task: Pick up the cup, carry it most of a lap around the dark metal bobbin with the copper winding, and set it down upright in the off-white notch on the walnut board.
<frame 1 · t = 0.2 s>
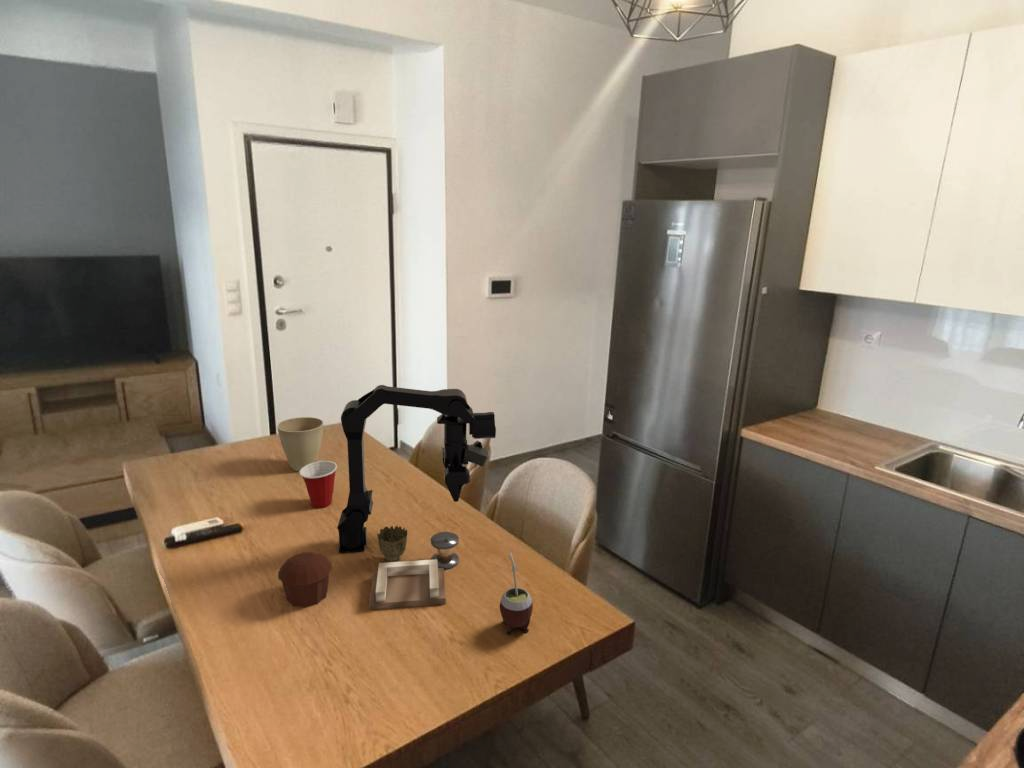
hand: (455, 493, 155), 14 cm above the table, fingers open, 9 cm apart
bobbin: (444, 561, 149), on the table
plastic cup: (321, 504, 177), on the table
mate gourd: (514, 626, 127), on the table
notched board: (408, 590, 138), on the table
muffin: (307, 595, 135), on the table
cup: (393, 561, 149), on the table
plant pot: (304, 467, 202), on the table
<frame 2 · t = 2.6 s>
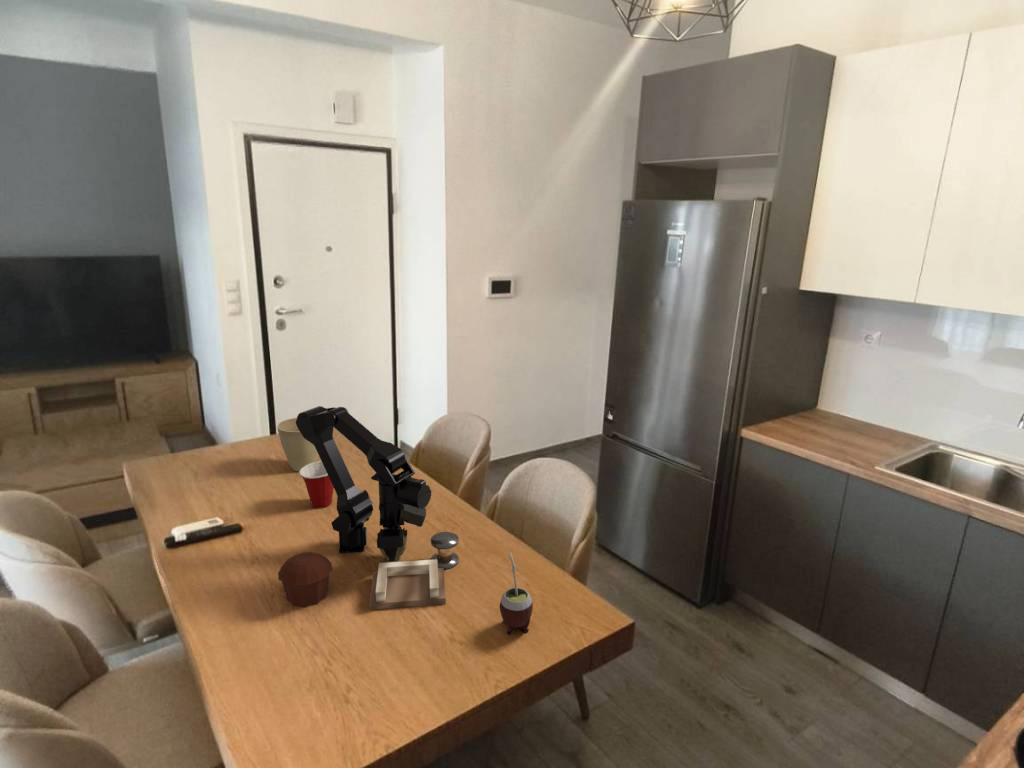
hand: (393, 553, 149), 2 cm above the table, fingers closed on cup, 6 cm apart
cup: (393, 561, 149), on the table, touching gripper
everything else where it was.
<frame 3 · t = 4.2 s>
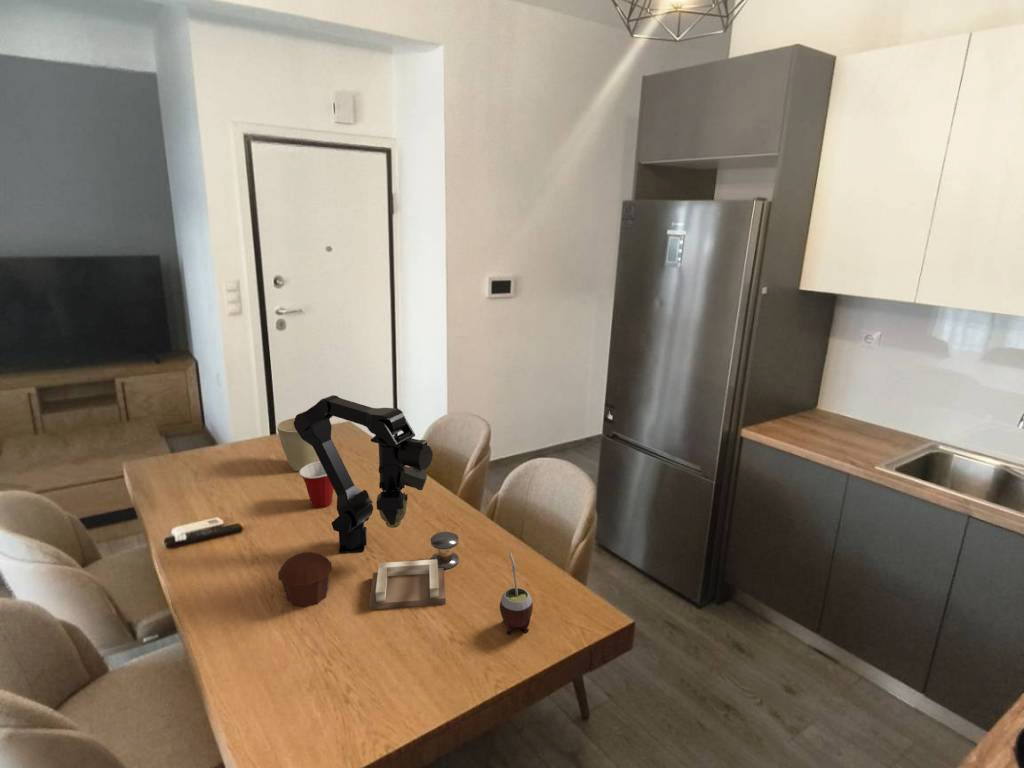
hand: (393, 518, 146), 12 cm above the table, fingers closed on cup, 6 cm apart
cup: (393, 526, 147), point 10 cm above the table, touching gripper
everything else where it was.
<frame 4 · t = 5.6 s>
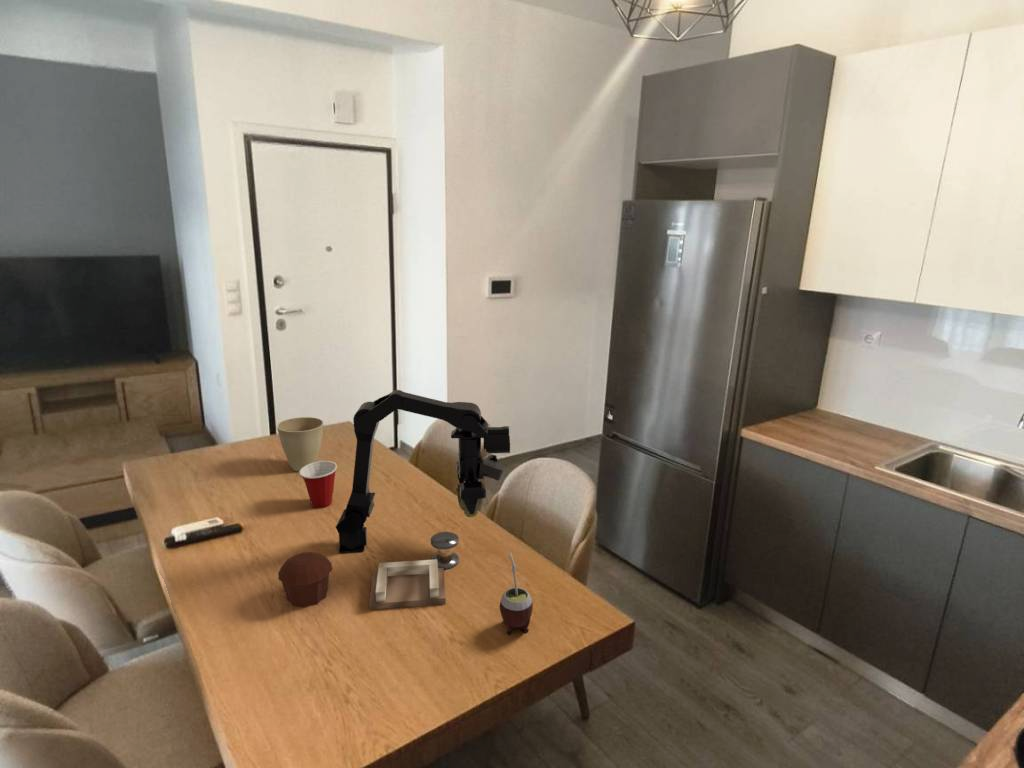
hand: (470, 507, 153), 11 cm above the table, fingers closed on cup, 6 cm apart
cup: (471, 515, 154), point 9 cm above the table, touching gripper
everything else where it was.
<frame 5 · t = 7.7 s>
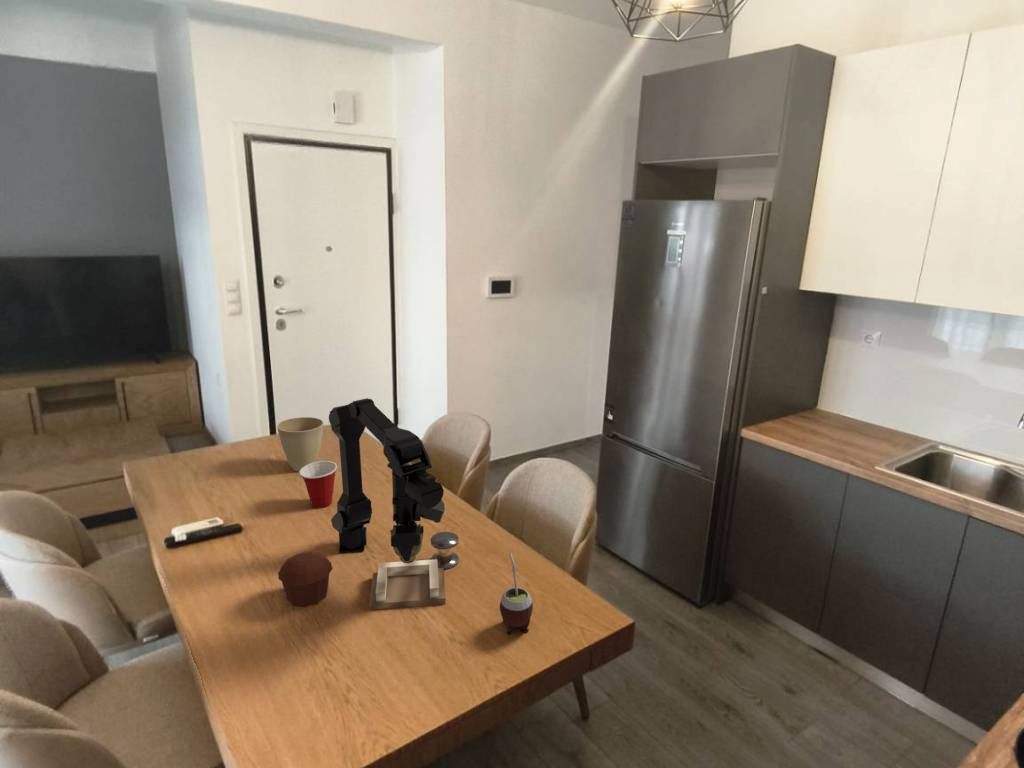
hand: (407, 552, 134), 11 cm above the table, fingers closed on cup, 6 cm apart
cup: (407, 560, 134), point 9 cm above the table, touching gripper
everything else where it was.
when the fingers open (5 cm above the table, at t = 9.1 s): cup drops 2 cm, resting on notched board.
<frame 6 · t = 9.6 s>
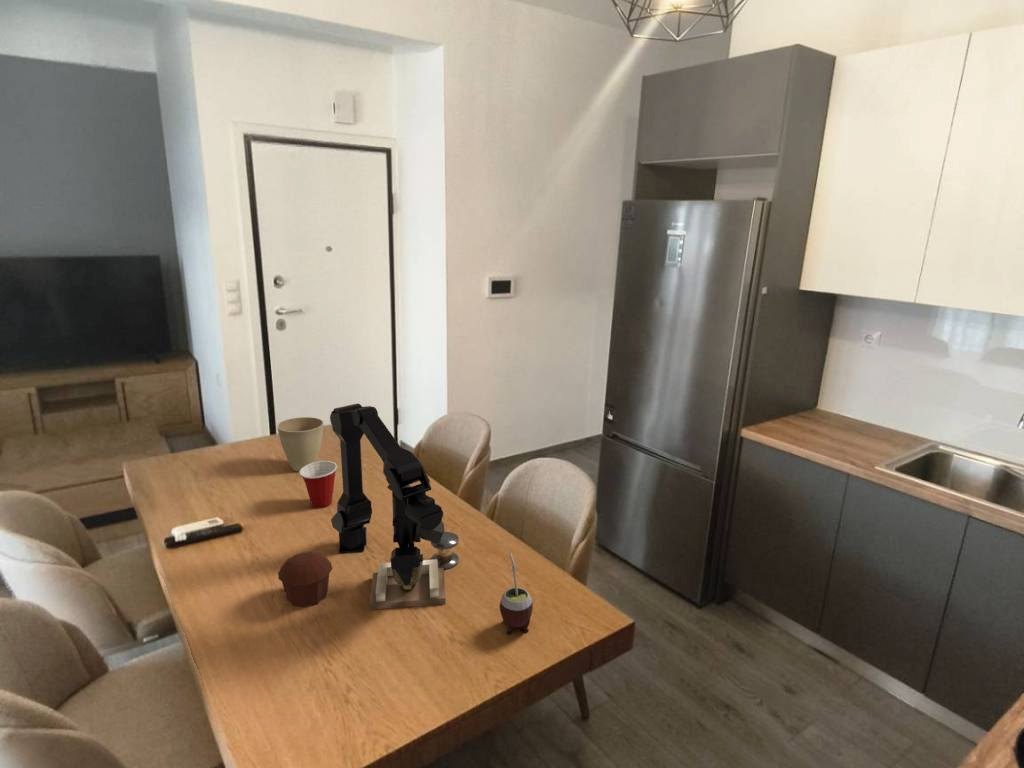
hand: (407, 572, 135), 5 cm above the table, fingers open, 9 cm apart
cup: (407, 588, 136), point 1 cm above the table, touching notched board
everything else where it was.
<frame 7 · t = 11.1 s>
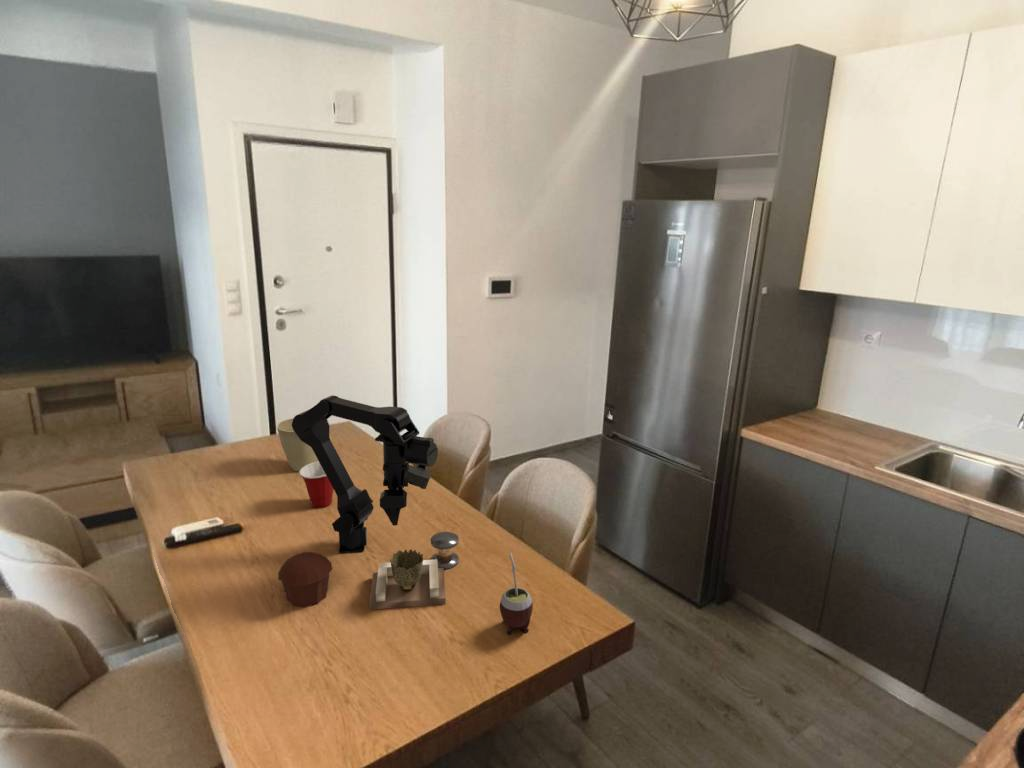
hand: (396, 515, 148), 12 cm above the table, fingers open, 9 cm apart
nothing on the table moved.
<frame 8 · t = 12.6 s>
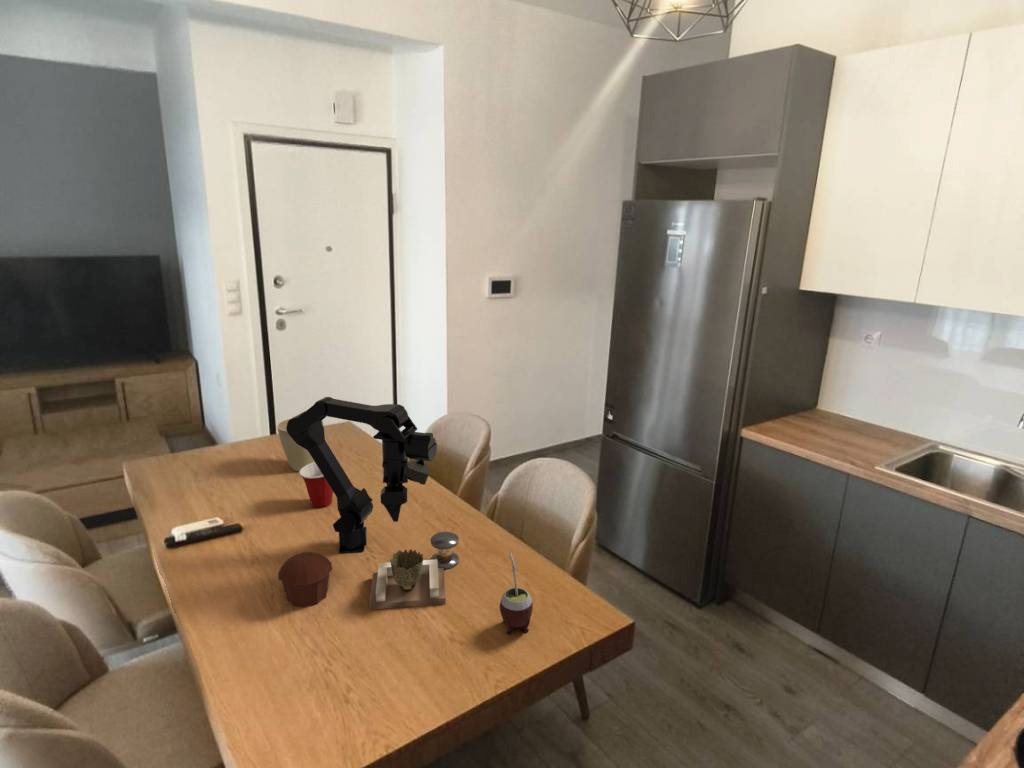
hand: (396, 512, 149), 12 cm above the table, fingers open, 9 cm apart
nothing on the table moved.
at the end: cup 0.1 cm from the target spot on the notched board, point 1.3 cm above the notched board's base; cup tilted 0°; the gripper is holding nothing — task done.
